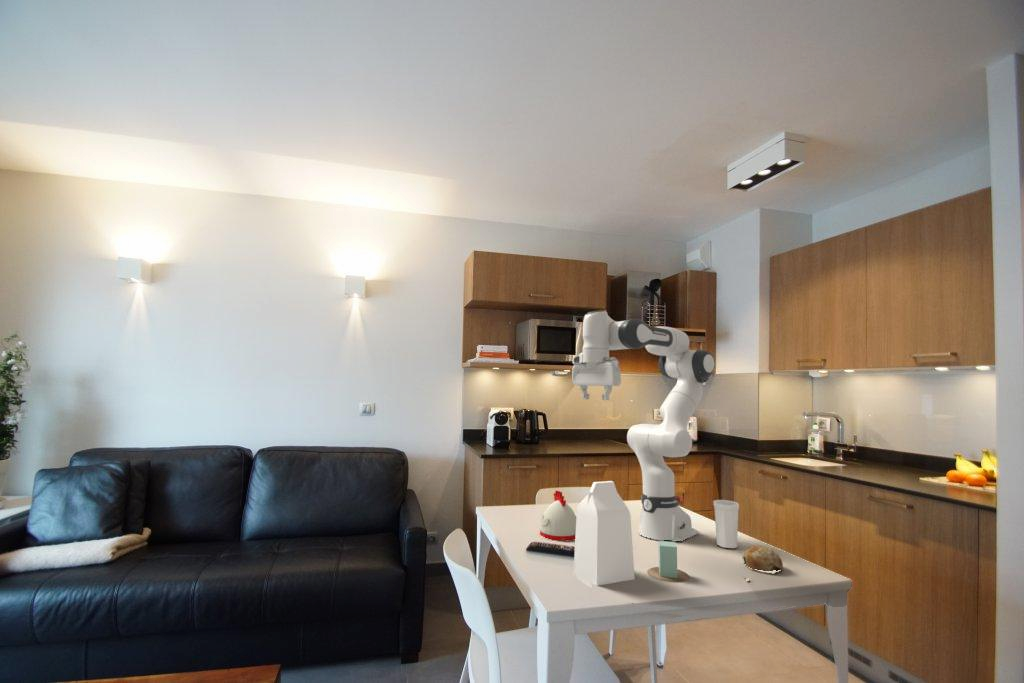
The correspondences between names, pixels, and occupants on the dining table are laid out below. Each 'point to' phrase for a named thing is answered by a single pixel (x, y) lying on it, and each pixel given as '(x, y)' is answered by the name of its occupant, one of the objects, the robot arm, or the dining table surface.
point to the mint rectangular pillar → (667, 559)
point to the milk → (603, 537)
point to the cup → (726, 523)
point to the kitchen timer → (558, 520)
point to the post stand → (680, 577)
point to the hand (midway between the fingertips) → (595, 399)
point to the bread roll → (762, 559)
